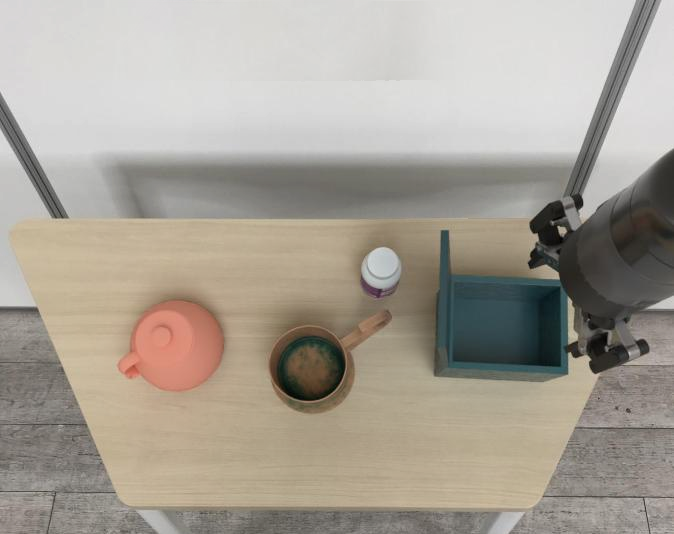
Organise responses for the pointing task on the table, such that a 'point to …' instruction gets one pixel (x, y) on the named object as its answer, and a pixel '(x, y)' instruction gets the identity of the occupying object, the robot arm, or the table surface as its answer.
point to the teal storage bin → (505, 329)
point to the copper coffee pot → (317, 364)
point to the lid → (444, 299)
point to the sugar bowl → (174, 346)
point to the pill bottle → (380, 273)
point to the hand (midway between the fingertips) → (555, 304)
